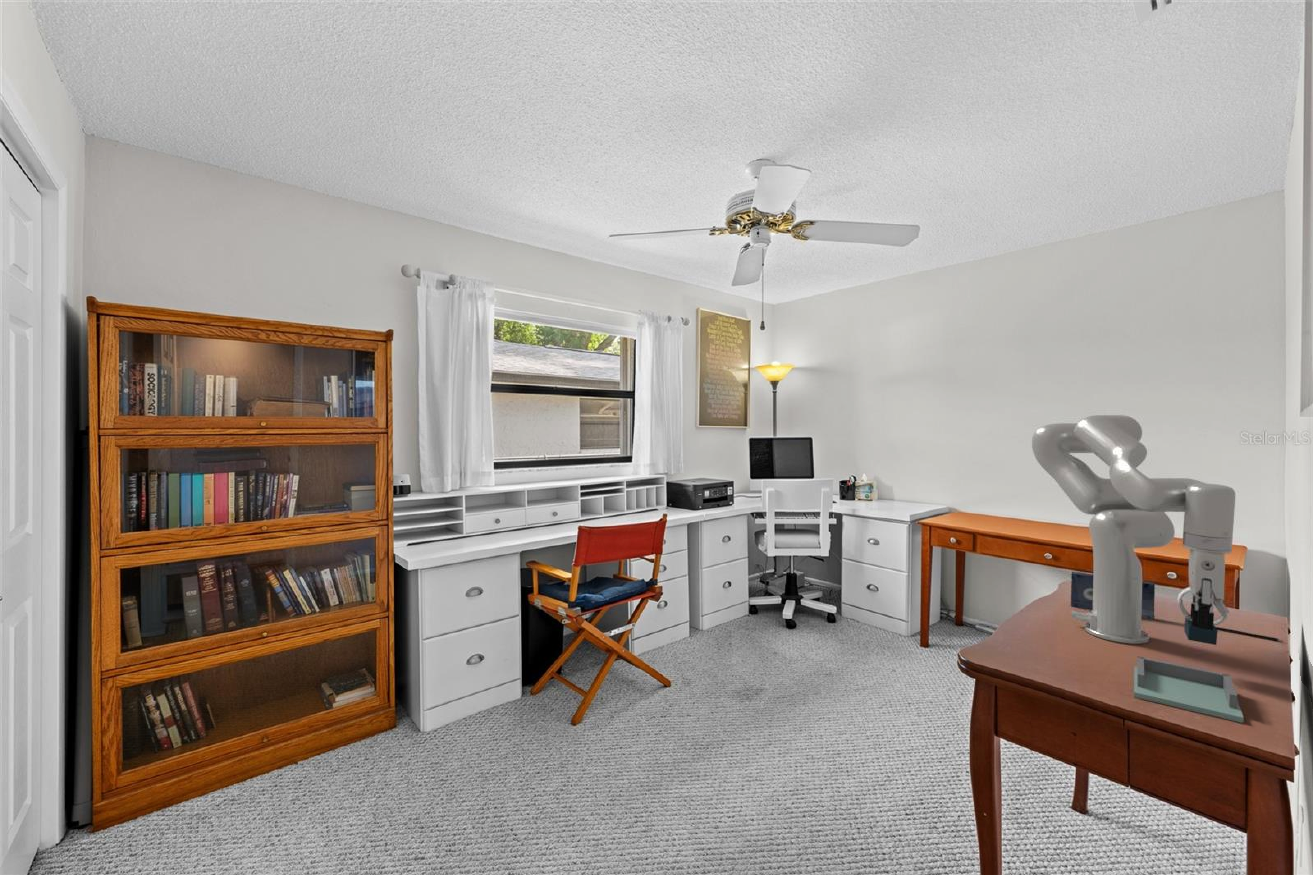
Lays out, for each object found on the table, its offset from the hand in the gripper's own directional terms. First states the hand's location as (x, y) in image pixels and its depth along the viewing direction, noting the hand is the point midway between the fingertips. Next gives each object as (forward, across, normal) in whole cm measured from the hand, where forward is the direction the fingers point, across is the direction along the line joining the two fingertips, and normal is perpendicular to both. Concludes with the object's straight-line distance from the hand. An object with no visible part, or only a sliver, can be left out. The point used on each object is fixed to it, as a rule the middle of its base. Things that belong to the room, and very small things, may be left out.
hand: (1201, 625), depth 121 cm
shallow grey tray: (+10, -16, +3) cm, 19 cm away
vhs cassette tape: (+12, +35, +16) cm, 40 cm away
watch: (+3, 0, 0) cm, 3 cm away
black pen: (+11, +35, -11) cm, 39 cm away
